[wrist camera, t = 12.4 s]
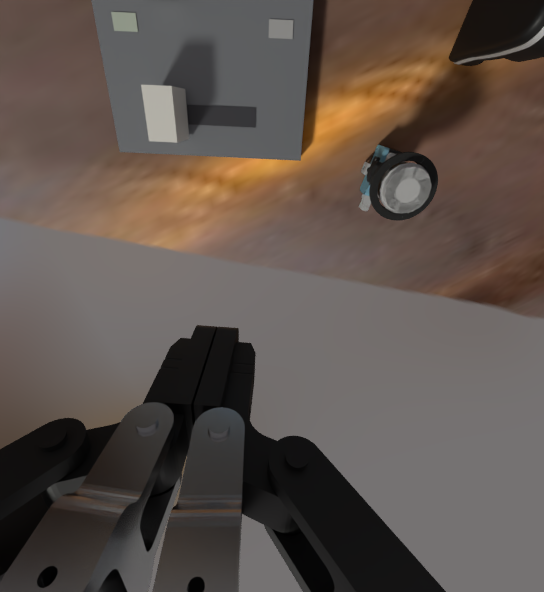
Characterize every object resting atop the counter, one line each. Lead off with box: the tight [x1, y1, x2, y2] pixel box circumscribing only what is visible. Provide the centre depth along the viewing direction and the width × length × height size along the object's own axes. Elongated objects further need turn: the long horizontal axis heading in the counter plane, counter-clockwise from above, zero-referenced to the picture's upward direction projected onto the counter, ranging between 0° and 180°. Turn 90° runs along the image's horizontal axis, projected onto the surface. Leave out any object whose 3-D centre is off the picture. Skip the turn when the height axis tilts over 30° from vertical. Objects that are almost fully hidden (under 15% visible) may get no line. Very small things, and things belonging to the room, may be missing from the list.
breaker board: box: [91, 0, 313, 161], centre depth 26 cm, size 18×17×6 cm
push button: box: [359, 145, 438, 220], centre depth 29 cm, size 7×5×10 cm
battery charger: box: [449, 0, 544, 66], centre depth 22 cm, size 7×4×11 cm, turn 166°
